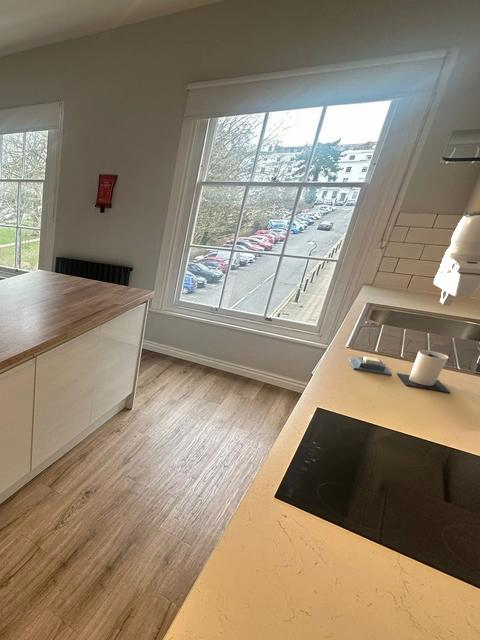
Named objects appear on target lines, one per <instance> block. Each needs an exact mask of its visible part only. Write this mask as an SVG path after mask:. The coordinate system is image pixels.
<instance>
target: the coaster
mask: <svg viewBox="0 0 480 640" xmlns="http://www.w3.org/2000/svg"><path fill="white" fill-rule="evenodd" d="M396 375H397V376H398V378H399V380H400V381H401V382H402V383H403V385H404V386H405V387H409V388H414V389H415V388H416V389H421V390H425V391H426V390H427V391H432V392H437V393H442V394H447V395H449V394H451V392H450V391H449V390H448V388H447V387H446V386H445V385H444V384H443V383H442V382H441V381H440V380H439V379H437V380H436V382H435V383H434V385H431V386H430V385H422V384H418V383H415V382H413V381H411V380H410V379H409V377H410V375H411V374H405V373H400V372H399V373H398V372H397V373H396Z"/></svg>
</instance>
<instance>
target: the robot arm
mask: <svg viewBox="0 0 480 640" xmlns="http://www.w3.org/2000/svg"><path fill="white" fill-rule="evenodd" d="M444 253H445V254H444V256H443V258H442V261H441V263H440V265H439V269H438V270H437V273H436V275H435V277H434V279H433V285H434V286H436V287H438V288H439V289H441V293H440V294H441V297H440V300H439V303H440V304H441V305H442V306H446V307H449V306H451V305H452V304H453V301H454V300H455V299H456V298H461V299H462V298H463V299H470V298H472V297H473V296H474V295H475V294H476V291H477V290H478V288H479V287H480V210H477V211H472V212H469V213H467V214H465V215H464V216H463V217H462V218H461V219H460V221H459V222H458V224H457V226H456V228H455V230H454V232H453V235H452V237H451V243H450V246H449V247H448V248H447V250H446V251H445V252H444Z"/></svg>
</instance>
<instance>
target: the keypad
mask: <svg viewBox="0 0 480 640" xmlns="http://www.w3.org/2000/svg"><path fill="white" fill-rule="evenodd" d="M363 358H364V357H361V356H356V358H350V357H348V358H347V361H348V363H349V365H350V367H351V368H352V370H353V371H358V372H362V373H363V372H364V373H370V374H374V375H381V376H386V377H387V376H388V377H393V373H392V372H391V371H390V369H389V367H387V365H386V364H385V363H384V362H382V360H380V359H379V361H380V363H379V365H376V364H370V363H365V362H364V361H363Z"/></svg>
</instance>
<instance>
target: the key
mask: <svg viewBox="0 0 480 640" xmlns="http://www.w3.org/2000/svg"><path fill="white" fill-rule="evenodd" d="M362 358H363V361H364V362H365V363H370V364H376V365H379V363H380V361H381V360H380V359H379V358H378V357H373V356H366V355H364V356H363V357H362ZM379 360H380V361H379Z"/></svg>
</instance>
